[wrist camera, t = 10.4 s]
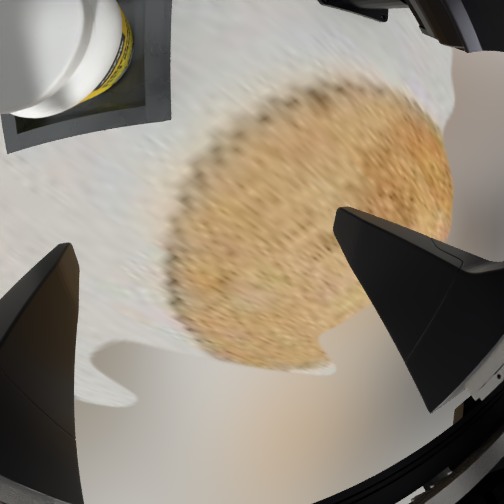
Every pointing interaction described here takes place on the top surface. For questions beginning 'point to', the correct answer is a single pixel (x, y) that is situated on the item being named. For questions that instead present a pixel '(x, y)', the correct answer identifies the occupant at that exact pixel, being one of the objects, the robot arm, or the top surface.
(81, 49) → the pill bottle
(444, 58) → the top surface
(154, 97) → the dark metal seat block
